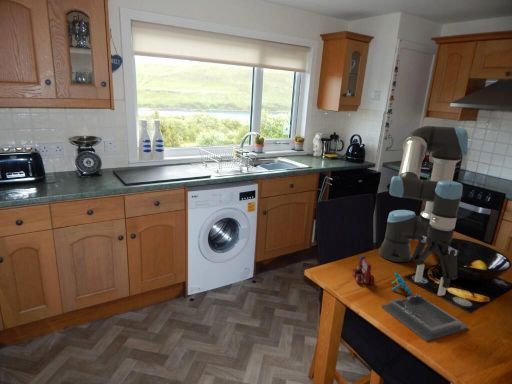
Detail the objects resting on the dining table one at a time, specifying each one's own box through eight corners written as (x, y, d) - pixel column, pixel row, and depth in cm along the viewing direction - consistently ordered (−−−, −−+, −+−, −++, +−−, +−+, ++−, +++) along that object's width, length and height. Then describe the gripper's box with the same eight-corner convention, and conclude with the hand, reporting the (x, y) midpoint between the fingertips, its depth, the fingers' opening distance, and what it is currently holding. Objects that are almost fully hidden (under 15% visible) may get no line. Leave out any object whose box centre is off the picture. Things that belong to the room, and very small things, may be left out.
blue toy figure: (416, 298, 133) (400, 278, 132) (402, 305, 134) (387, 286, 134) (409, 284, 143) (394, 266, 142) (396, 291, 145) (382, 273, 144)
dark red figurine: (366, 274, 152) (369, 252, 150) (374, 288, 140) (378, 265, 138) (350, 273, 152) (353, 251, 150) (358, 287, 140) (361, 264, 138)
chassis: (420, 298, 135) (421, 291, 134) (468, 328, 117) (469, 321, 116) (381, 307, 127) (382, 300, 126) (426, 341, 109) (427, 333, 108)
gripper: (407, 217, 121) (397, 275, 127) (464, 240, 102) (449, 306, 108) (422, 216, 124) (412, 272, 130) (480, 237, 105) (465, 302, 111)
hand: (429, 287), depth 119 cm, fingers open, 9 cm apart
